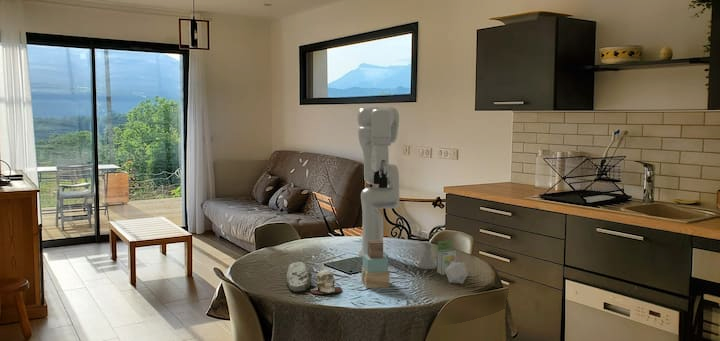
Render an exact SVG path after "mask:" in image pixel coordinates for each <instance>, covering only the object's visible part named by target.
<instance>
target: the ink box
mask: <svg viewBox="0 0 720 341" xmlns="http://www.w3.org/2000/svg"><path fill="white" fill-rule="evenodd" d="M443 244H447V245H443ZM451 245H452V240H451V239H449V240H441V241H437V251H436V252H437V253H436V254H437V256H436V257H437V258H436V264H437V265H436V273H437V274H438V275H440V276H447V275H446V272H445V270H446V269H447V267H448V266H449V264H450V263H451V262H457V250H456V249H454V248H452V247H451Z"/></svg>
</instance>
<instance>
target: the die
mask: <svg viewBox="0 0 720 341" xmlns="http://www.w3.org/2000/svg"><path fill="white" fill-rule="evenodd" d="M445 272H446V275H445V276H446V277H447V280H448V282H449V283H450V284H459V285H463V283H464V282H465V280H466V279H467V277H468V275H469V273H468V270H467V267H466V265H465V263H464V262H459V261H456V262H451V263H450V264H449V266H448V267H447V269H446V270H445Z"/></svg>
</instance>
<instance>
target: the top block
mask: <svg viewBox="0 0 720 341" xmlns="http://www.w3.org/2000/svg"><path fill="white" fill-rule="evenodd" d="M362 267H363V268H364V269H365V270H366V272H367V273H372V272H388V271H389V258H388V257H387V255H386V256H385V255H383V258H370V257H369V256H368V254H365V255H363V258H362Z"/></svg>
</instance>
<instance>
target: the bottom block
mask: <svg viewBox="0 0 720 341" xmlns="http://www.w3.org/2000/svg"><path fill="white" fill-rule="evenodd" d="M390 274H391V272H390V271H389V270H388V272H372V273H367V272H366V270H365V269H364V268H363V266H361V283H362V284H363V285H364V288H366V289H374V288H375V289H377V288H390V284H391V283H390Z"/></svg>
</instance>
